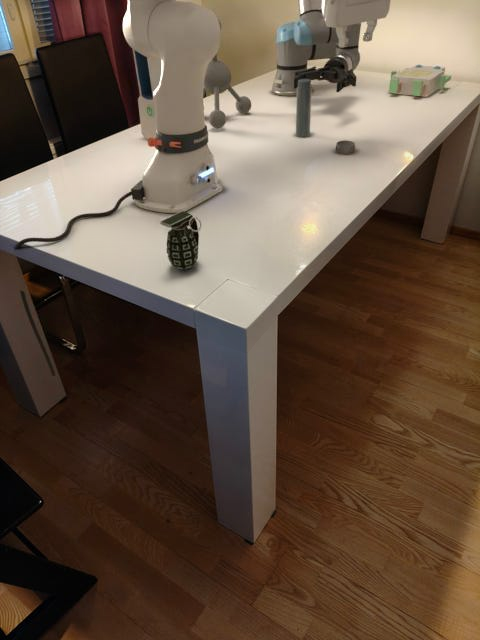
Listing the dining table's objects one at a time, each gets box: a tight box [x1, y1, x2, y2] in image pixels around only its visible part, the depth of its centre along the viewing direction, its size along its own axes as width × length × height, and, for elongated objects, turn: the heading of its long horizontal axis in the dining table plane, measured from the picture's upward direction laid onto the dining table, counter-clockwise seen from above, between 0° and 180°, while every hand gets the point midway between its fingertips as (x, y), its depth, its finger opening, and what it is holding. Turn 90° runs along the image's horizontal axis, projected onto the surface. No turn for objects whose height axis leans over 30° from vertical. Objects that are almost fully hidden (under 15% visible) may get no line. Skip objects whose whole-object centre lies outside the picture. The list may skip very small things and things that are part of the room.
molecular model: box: [203, 19, 252, 129], centre depth 157 cm, size 24×22×30 cm
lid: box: [335, 140, 356, 155], centre depth 135 cm, size 5×5×2 cm
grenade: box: [159, 211, 202, 271], centre depth 88 cm, size 7×6×10 cm
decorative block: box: [388, 64, 452, 98], centre depth 182 cm, size 26×6×20 cm
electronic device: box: [132, 48, 162, 140], centre depth 143 cm, size 12×8×30 cm, turn 47°
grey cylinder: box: [295, 79, 313, 138], centre depth 144 cm, size 4×4×15 cm
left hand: (355, 44), depth 120 cm, fingers open, 8 cm apart
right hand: (316, 85), depth 148 cm, fingers open, 13 cm apart
